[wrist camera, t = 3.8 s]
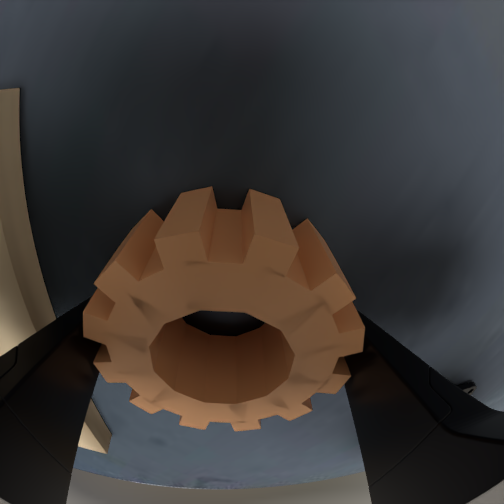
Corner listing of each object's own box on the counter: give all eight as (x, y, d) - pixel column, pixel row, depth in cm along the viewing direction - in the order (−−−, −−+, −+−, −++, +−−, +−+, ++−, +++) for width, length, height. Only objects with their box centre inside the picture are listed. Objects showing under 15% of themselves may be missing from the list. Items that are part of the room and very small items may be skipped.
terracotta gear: (355, 198, 8) (402, 244, 6) (309, 368, 12) (323, 428, 9) (106, 184, 8) (54, 224, 5) (134, 359, 11) (117, 418, 9)
